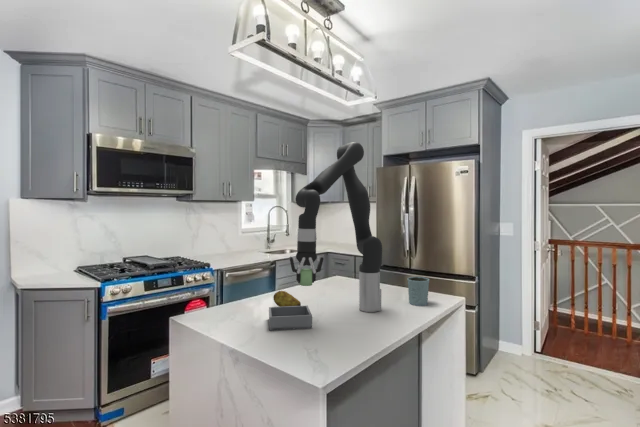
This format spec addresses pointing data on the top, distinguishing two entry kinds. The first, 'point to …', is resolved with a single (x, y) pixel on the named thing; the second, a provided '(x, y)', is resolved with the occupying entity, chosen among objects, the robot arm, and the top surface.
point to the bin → (290, 318)
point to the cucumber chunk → (306, 277)
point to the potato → (285, 299)
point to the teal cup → (418, 290)
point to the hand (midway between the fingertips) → (305, 282)
